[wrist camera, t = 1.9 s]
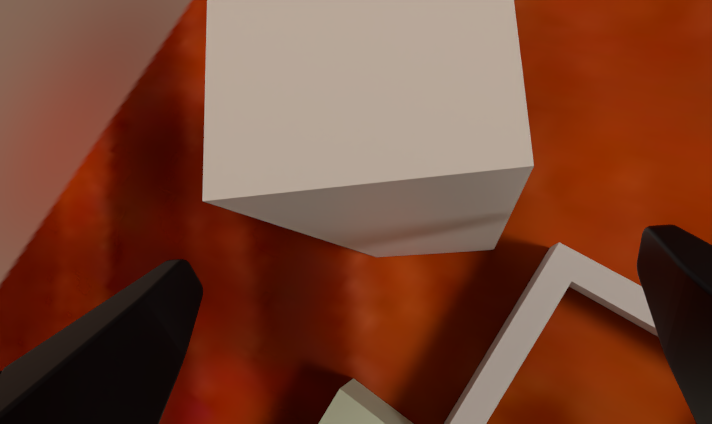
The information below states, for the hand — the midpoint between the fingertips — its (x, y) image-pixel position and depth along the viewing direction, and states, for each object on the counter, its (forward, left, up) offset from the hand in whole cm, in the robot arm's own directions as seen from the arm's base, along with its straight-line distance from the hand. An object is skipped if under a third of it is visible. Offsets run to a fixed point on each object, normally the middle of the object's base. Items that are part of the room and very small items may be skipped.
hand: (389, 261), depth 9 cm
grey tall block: (+2, +2, -10) cm, 11 cm away
